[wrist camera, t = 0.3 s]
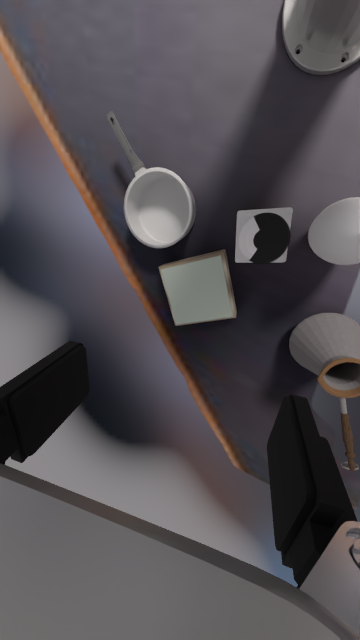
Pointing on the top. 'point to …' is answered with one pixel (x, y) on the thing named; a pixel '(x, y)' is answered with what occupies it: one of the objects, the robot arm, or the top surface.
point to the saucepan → (155, 200)
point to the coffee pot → (331, 361)
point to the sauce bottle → (337, 232)
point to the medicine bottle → (263, 235)
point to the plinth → (199, 288)
